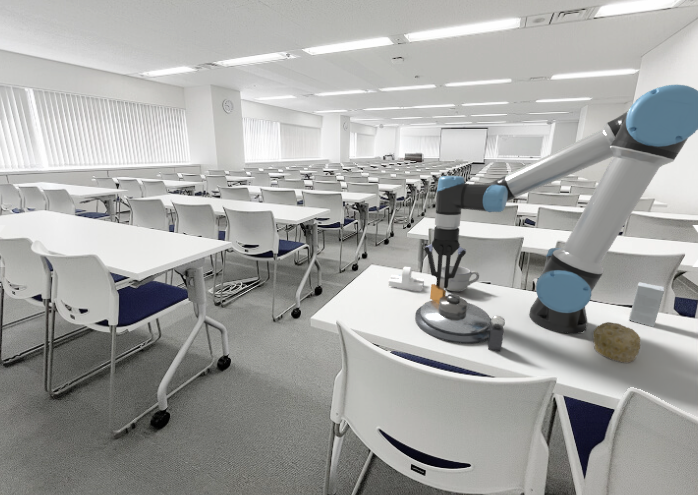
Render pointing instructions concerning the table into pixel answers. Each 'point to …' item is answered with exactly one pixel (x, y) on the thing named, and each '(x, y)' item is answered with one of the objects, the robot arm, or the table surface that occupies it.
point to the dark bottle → (496, 333)
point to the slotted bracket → (406, 281)
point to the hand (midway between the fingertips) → (441, 296)
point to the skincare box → (646, 304)
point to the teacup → (460, 278)
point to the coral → (616, 342)
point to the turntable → (468, 326)
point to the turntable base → (450, 337)
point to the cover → (452, 307)
